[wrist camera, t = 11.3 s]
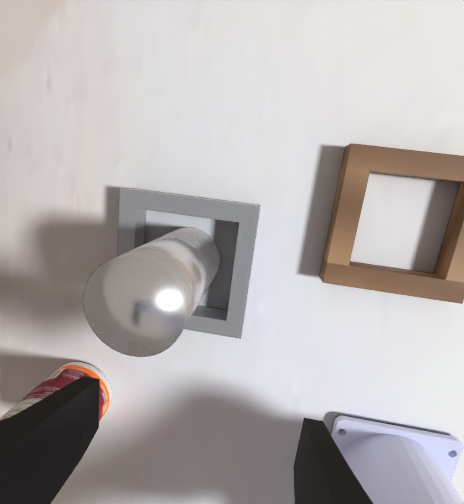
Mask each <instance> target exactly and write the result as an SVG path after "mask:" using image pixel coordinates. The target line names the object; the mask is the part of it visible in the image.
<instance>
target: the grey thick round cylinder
mask: <svg viewBox="0 0 464 504" xmlns="http://www.w3.org/2000/svg"><path fill="white" fill-rule="evenodd" d="M219 265H220V254H219V250H218V247H217V245H216V243H215V242H214V240H213V239H212V238H211V237H210V236H209V235H208V234H206V233H205V232H203V231H201V230H199V229H196V228H191V227H184V228H179V229H176V230H174V231H172V232H170V233H168V234H165V235H163V236H161V237H159V238H157V239H155V240H152V241H150V242H148V243H146V244H144V245H142V246H139V247H137V248H135V249H133V250H131V251H129V252H127V253H124V254H122V255H120V256H118V257H116V258H114V259H111V260H109V261H107V262H105V263H103V264H102V265H101V266H99V267H98V268H97V269H96V270H95V271H94V272H93V273H92V275H91V276H90V278H89V279H88V281H87V284H86V286H85V290H84V297H83V305H84V311H85V315H86V318H87V321H88V323H89V325H90V327H91V328H92V330H93V331H94V333H95V334H96V335H97V337H98V338H99V339H100V340H101V341H102V342H104V343H105V344H106V345H107V346H109V347H110V348H112V349H114V350H115V351H117V352H120V353H122V354H125V355H129V356H135V357H146V356H152V355H156V354H158V353H161V352H163V351H165V350H166V349H168V348H169V347H170V346H172V344H173V343H174V342H175V341H176V340H177V339H178V337H179V336H180V334H181V332H182V331H183V329H184V327H185V326H186V324H187V322H188V321H189V319H190V317H191V316H192V314H193V312H194V311H195V309H196V307H197V306H198V304H199V302H200V301H201V299H202V297H203V296H204V294H205V292H206V291H207V289H208V287H209V286H210V284H211V282H212V281H213V279H214V277H215V275H216V274H217V272H218V269H219Z"/></svg>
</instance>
